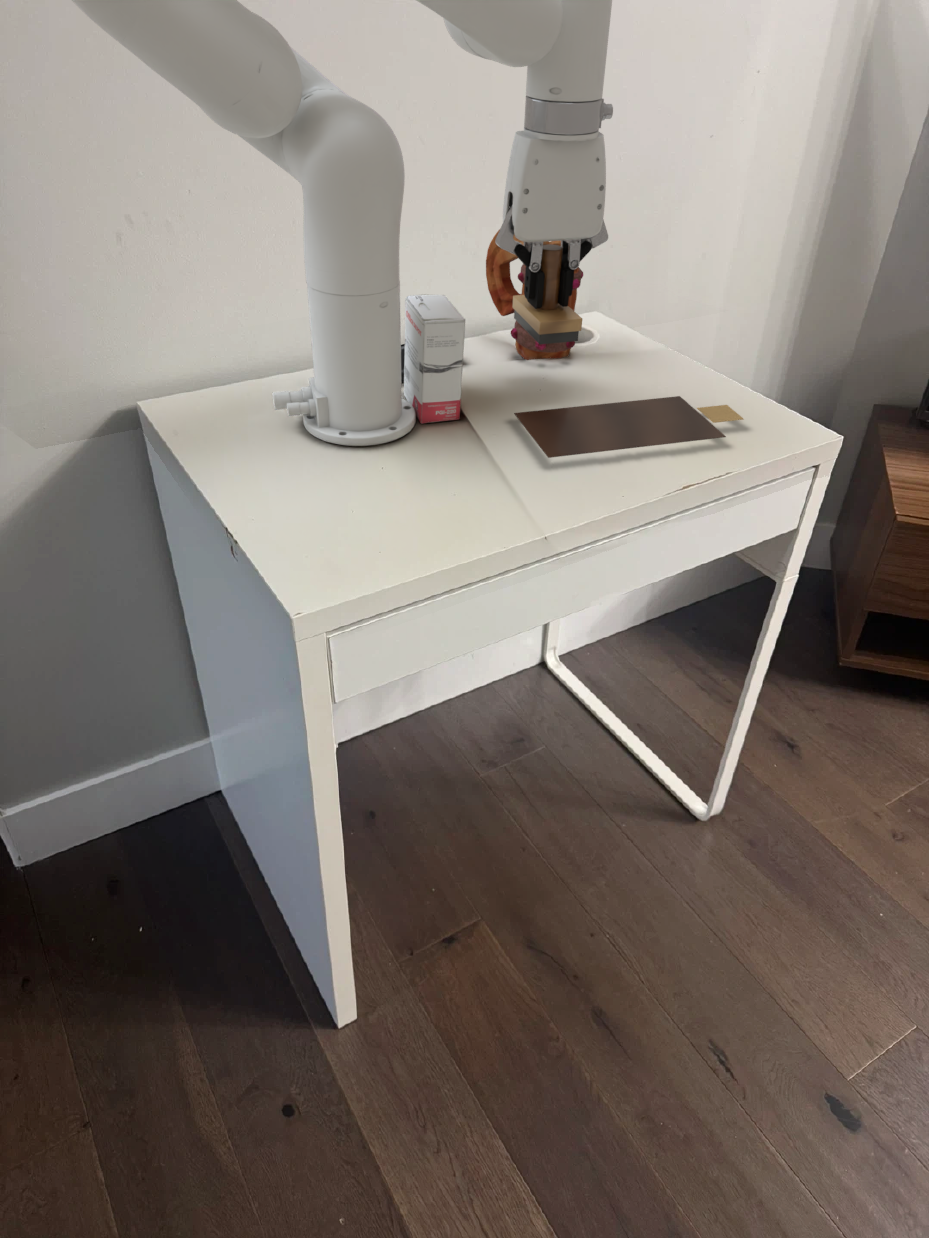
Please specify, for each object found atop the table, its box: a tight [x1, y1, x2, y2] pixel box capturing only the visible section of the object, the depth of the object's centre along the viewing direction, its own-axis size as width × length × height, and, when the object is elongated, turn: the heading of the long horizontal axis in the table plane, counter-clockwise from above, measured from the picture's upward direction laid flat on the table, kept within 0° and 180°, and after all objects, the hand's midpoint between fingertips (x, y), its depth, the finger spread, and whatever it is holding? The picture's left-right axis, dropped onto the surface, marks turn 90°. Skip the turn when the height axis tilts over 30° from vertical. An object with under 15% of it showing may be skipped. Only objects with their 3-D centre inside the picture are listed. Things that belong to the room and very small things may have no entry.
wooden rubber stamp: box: [513, 244, 583, 344], centre depth 98 cm, size 5×9×9 cm, turn 17°
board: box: [514, 395, 727, 459], centre depth 99 cm, size 21×11×1 cm, turn 107°
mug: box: [485, 228, 584, 361], centre depth 113 cm, size 15×8×15 cm, turn 46°
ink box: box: [403, 293, 466, 424], centre depth 99 cm, size 9×5×12 cm, turn 17°
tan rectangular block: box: [696, 404, 744, 424], centre depth 102 cm, size 4×4×1 cm
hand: (547, 302), depth 99 cm, fingers closed on wooden rubber stamp, 2 cm apart
